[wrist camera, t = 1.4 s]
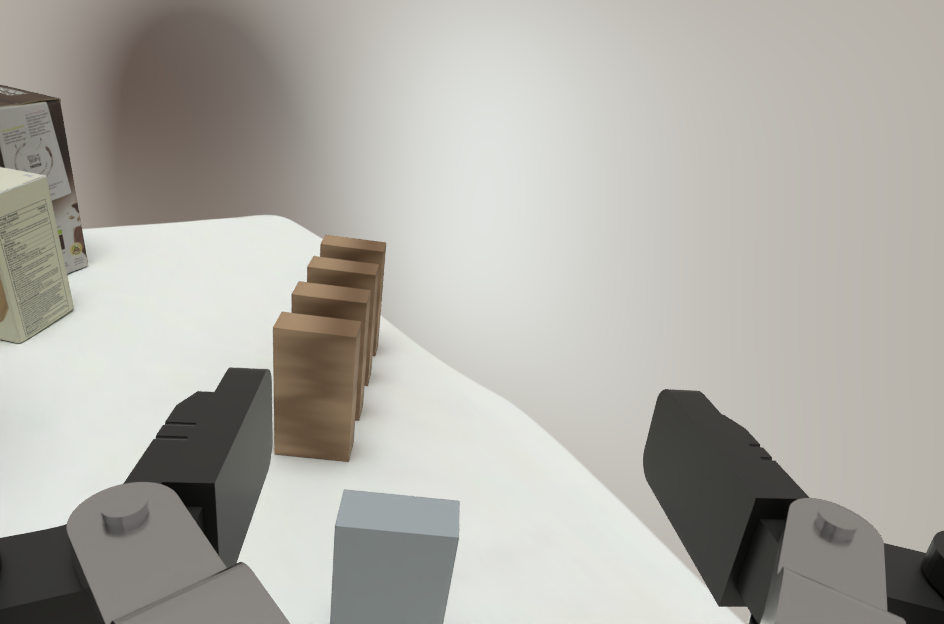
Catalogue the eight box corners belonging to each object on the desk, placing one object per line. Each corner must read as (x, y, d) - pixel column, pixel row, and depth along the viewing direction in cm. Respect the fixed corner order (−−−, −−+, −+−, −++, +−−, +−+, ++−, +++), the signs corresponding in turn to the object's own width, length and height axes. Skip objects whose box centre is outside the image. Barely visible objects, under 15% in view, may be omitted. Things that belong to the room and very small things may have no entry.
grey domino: (327, 674, 29) (334, 526, 24) (335, 635, 31) (343, 489, 26) (432, 682, 29) (458, 537, 25) (434, 643, 31) (459, 500, 26)
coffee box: (92, 265, 61) (64, 97, 53) (31, 289, 55) (-10, 106, 48) (21, 243, 63) (-15, 78, 55) (-44, 264, 57) (-95, 84, 50)
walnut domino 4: (274, 454, 41) (273, 327, 37) (282, 434, 43) (281, 311, 38) (348, 462, 42) (356, 337, 37) (353, 442, 43) (361, 321, 39)
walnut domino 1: (317, 349, 53) (320, 243, 49) (322, 337, 55) (325, 234, 50) (375, 356, 54) (383, 251, 49) (378, 344, 55) (386, 242, 51)
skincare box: (30, 300, 54) (-1, 163, 48) (76, 310, 53) (51, 173, 48) (-34, 336, 48) (-78, 185, 42) (17, 346, 48) (-20, 196, 42)
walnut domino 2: (305, 378, 49) (307, 266, 45) (311, 365, 51) (313, 256, 46) (367, 385, 50) (375, 275, 45) (370, 372, 51) (379, 264, 47)
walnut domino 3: (291, 413, 45) (291, 294, 41) (298, 397, 47) (299, 281, 42) (358, 420, 46) (366, 303, 41) (363, 404, 47) (370, 290, 43)
